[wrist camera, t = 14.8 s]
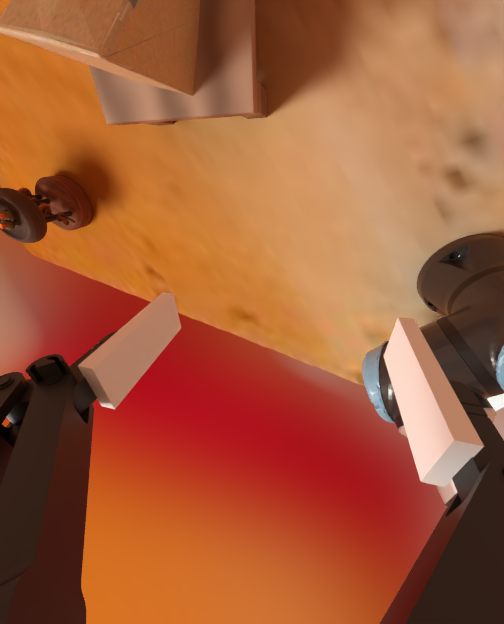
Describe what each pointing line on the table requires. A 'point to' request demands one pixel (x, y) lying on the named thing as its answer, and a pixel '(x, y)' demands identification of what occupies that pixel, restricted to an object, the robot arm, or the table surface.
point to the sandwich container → (115, 36)
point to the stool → (197, 75)
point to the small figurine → (43, 208)
